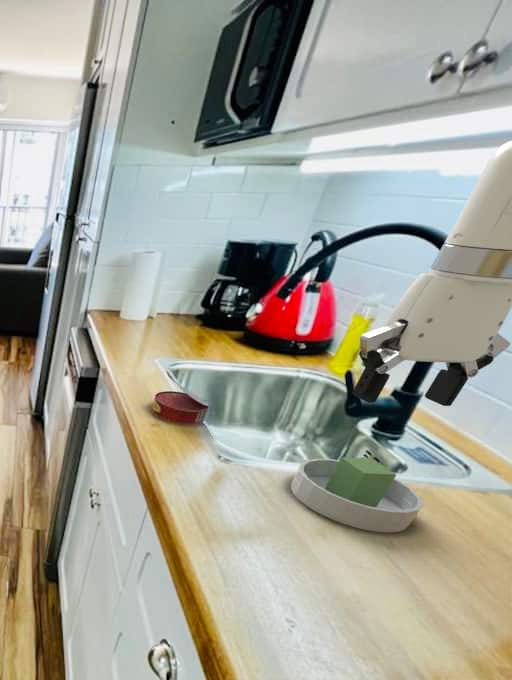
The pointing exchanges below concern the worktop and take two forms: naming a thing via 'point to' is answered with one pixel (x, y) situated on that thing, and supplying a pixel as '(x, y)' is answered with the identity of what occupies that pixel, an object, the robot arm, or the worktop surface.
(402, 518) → the basin
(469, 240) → the robot arm
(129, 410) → the worktop surface
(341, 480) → the green block
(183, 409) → the canned food
